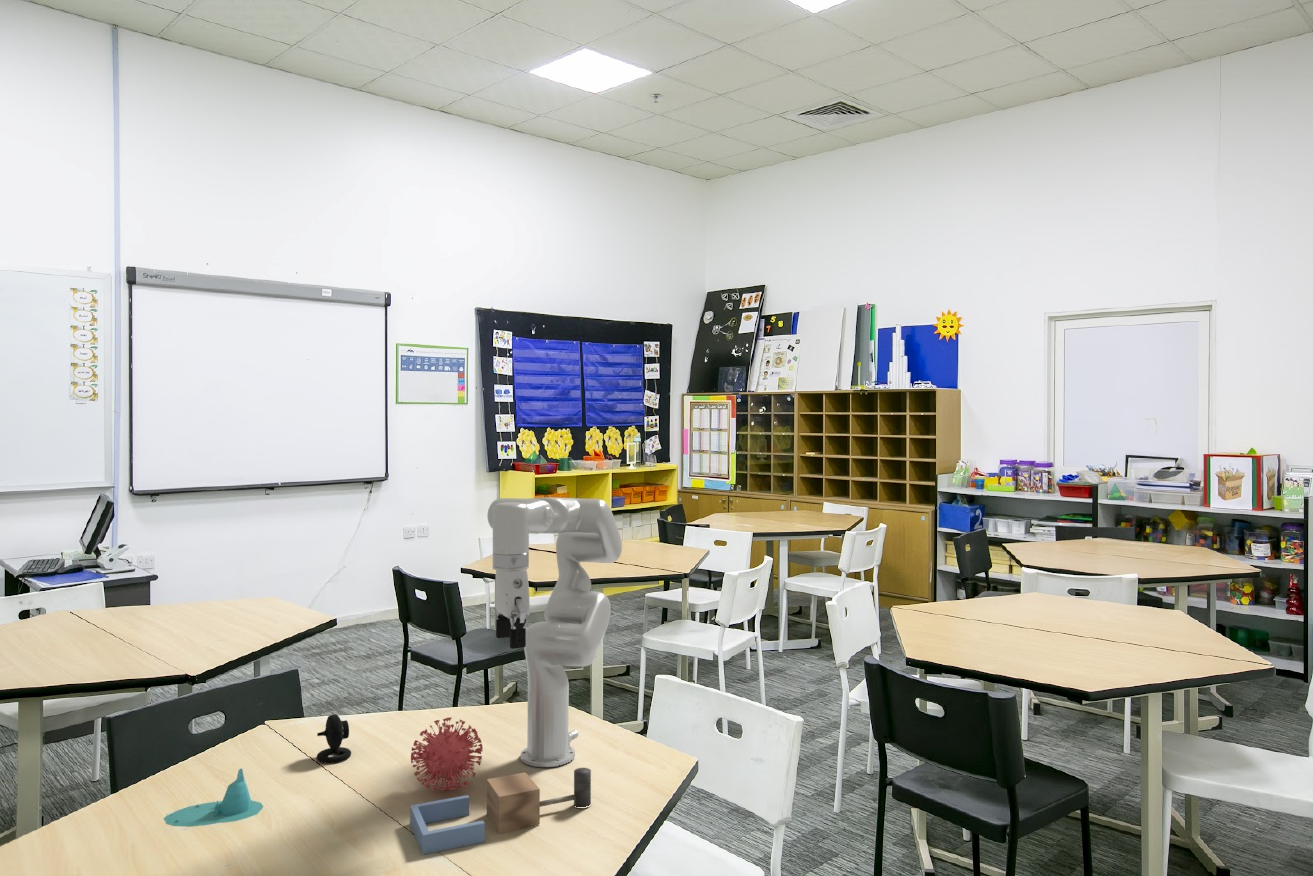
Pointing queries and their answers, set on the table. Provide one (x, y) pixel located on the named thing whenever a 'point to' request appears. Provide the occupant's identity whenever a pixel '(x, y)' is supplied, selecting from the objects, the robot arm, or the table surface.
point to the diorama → (219, 808)
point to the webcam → (334, 740)
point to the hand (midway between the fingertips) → (510, 642)
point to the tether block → (528, 799)
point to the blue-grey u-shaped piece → (444, 836)
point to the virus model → (446, 755)
